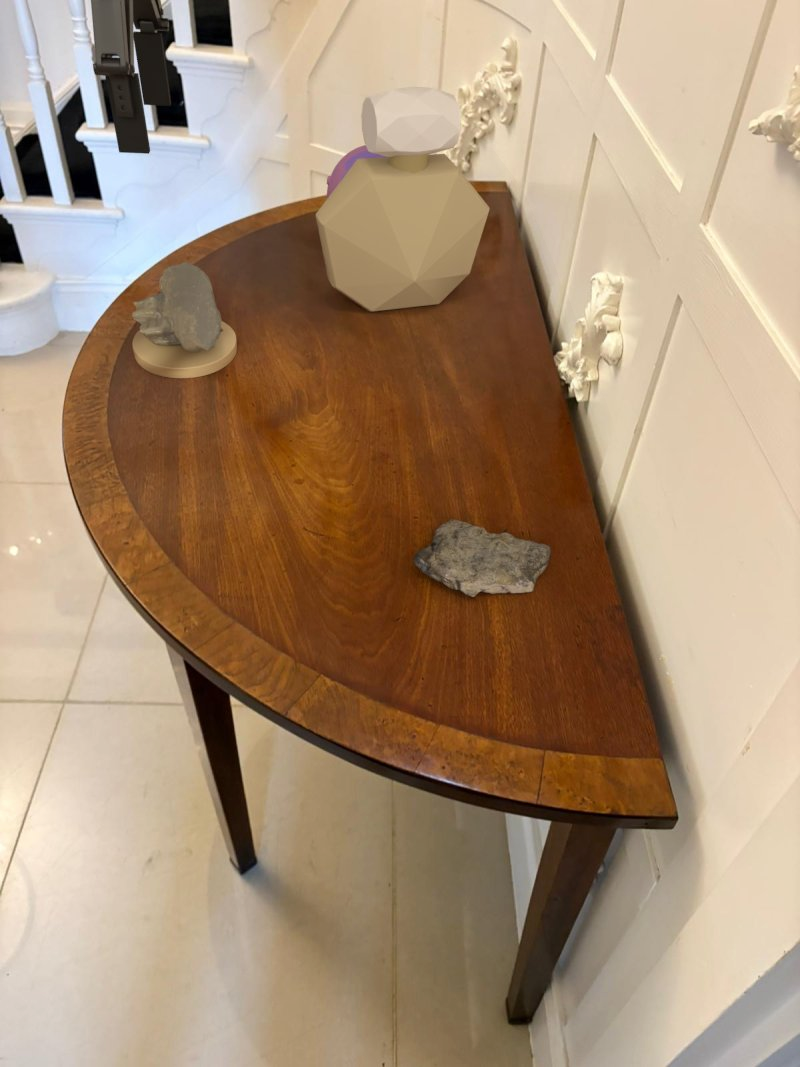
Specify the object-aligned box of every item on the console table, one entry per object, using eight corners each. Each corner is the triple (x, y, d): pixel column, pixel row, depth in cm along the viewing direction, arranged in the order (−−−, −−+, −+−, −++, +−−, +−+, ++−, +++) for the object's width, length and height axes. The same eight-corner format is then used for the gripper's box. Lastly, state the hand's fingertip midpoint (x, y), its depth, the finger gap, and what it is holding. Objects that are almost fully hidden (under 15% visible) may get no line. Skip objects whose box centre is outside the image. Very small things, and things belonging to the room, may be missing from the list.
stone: (549, 552, 80) (555, 532, 78) (539, 615, 74) (545, 596, 72) (415, 524, 82) (417, 503, 80) (395, 583, 76) (396, 563, 74)
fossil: (199, 339, 108) (124, 320, 103) (220, 265, 103) (143, 242, 98) (221, 381, 97) (138, 362, 92) (245, 300, 93) (159, 276, 88)
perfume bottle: (489, 310, 114) (523, 99, 94) (329, 328, 108) (328, 106, 88) (459, 271, 122) (484, 68, 102) (308, 286, 116) (303, 74, 96)
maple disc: (125, 377, 97) (123, 367, 96) (143, 322, 106) (141, 312, 105) (232, 379, 98) (231, 369, 97) (241, 325, 107) (240, 315, 106)
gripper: (121, -136, 55) (166, 176, 70) (172, -166, 72) (200, 89, 87) (9, -144, 54) (79, 173, 69) (88, -172, 72) (130, 85, 87)
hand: (147, 127), depth 78 cm, fingers open, 13 cm apart
